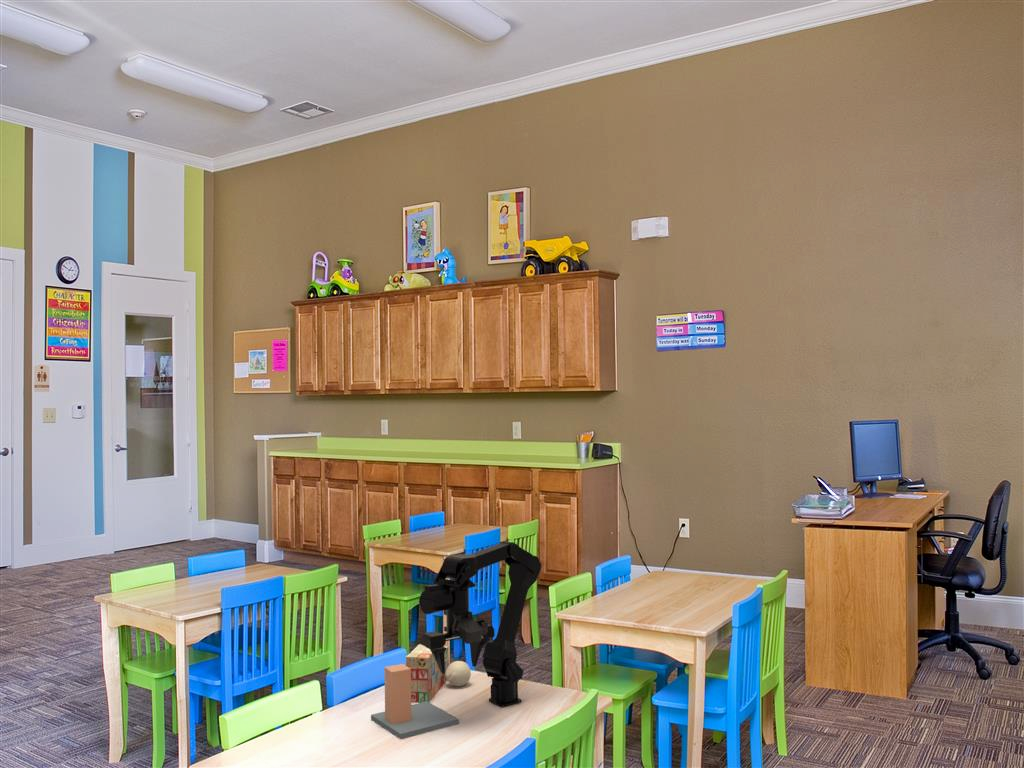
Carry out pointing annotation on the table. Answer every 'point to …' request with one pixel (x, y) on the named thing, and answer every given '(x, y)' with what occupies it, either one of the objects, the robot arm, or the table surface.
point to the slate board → (418, 720)
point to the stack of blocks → (425, 674)
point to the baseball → (458, 673)
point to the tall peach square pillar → (397, 693)
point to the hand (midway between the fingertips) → (458, 669)
